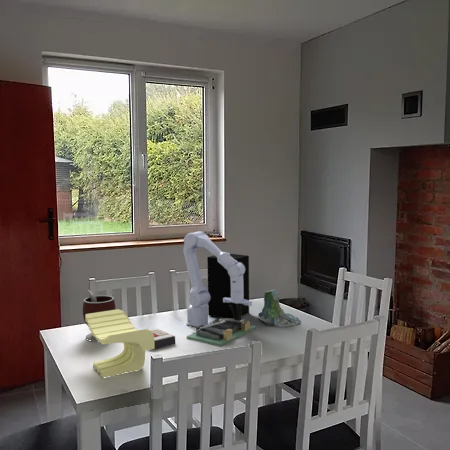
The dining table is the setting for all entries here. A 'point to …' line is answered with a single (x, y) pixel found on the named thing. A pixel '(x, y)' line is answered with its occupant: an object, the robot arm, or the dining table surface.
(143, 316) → the dining table surface
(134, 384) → the dining table surface
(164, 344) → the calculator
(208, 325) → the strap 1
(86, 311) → the mate gourd
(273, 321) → the tree stump
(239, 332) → the circuit board
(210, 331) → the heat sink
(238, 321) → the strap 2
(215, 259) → the video game console
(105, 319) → the slatted curved stool
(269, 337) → the dining table surface
